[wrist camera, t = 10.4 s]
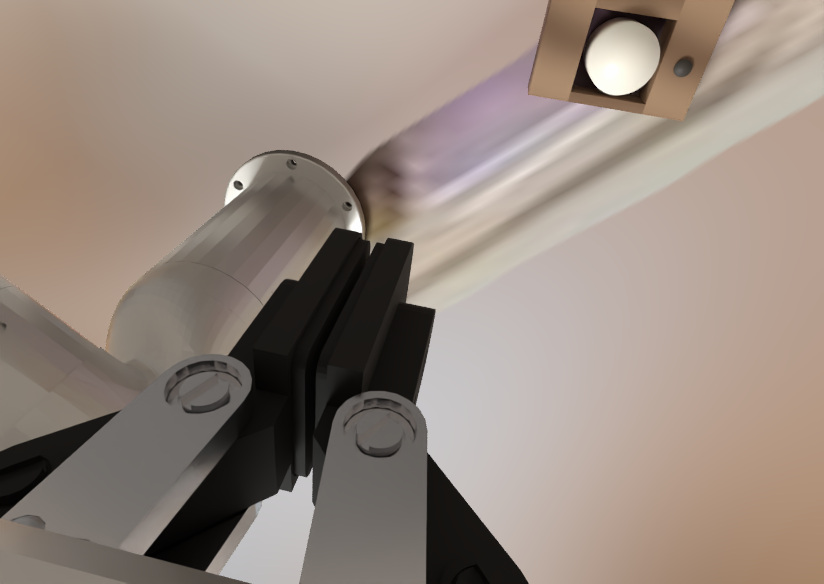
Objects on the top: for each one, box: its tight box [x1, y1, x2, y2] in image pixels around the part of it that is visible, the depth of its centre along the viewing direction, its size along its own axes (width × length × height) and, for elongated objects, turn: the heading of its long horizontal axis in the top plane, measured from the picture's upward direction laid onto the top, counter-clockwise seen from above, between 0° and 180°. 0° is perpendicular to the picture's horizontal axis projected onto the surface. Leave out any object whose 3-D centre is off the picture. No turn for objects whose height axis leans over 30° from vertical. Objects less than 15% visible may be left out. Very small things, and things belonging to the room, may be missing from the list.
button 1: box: [583, 17, 660, 95], centre depth 31 cm, size 4×4×3 cm
